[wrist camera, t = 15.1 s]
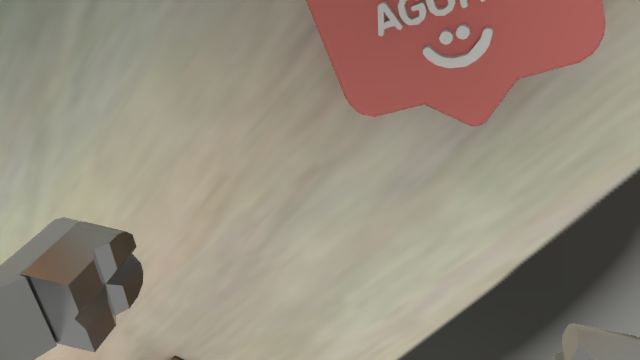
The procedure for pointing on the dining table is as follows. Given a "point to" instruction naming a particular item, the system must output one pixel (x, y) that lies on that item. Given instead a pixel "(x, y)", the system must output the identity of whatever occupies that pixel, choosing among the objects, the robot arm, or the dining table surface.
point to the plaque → (450, 49)
